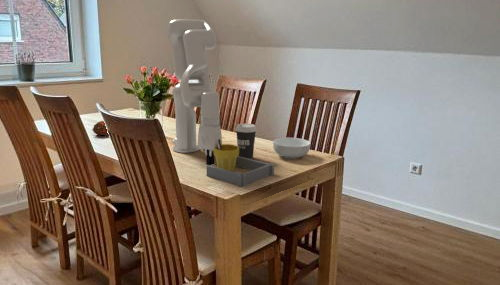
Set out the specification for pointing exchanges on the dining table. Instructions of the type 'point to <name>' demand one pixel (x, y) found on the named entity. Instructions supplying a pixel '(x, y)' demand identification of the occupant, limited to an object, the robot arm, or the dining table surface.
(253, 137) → the coffee cup
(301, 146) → the cereal bowl
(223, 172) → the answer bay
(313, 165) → the dining table surface
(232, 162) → the plant pot
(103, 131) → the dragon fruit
